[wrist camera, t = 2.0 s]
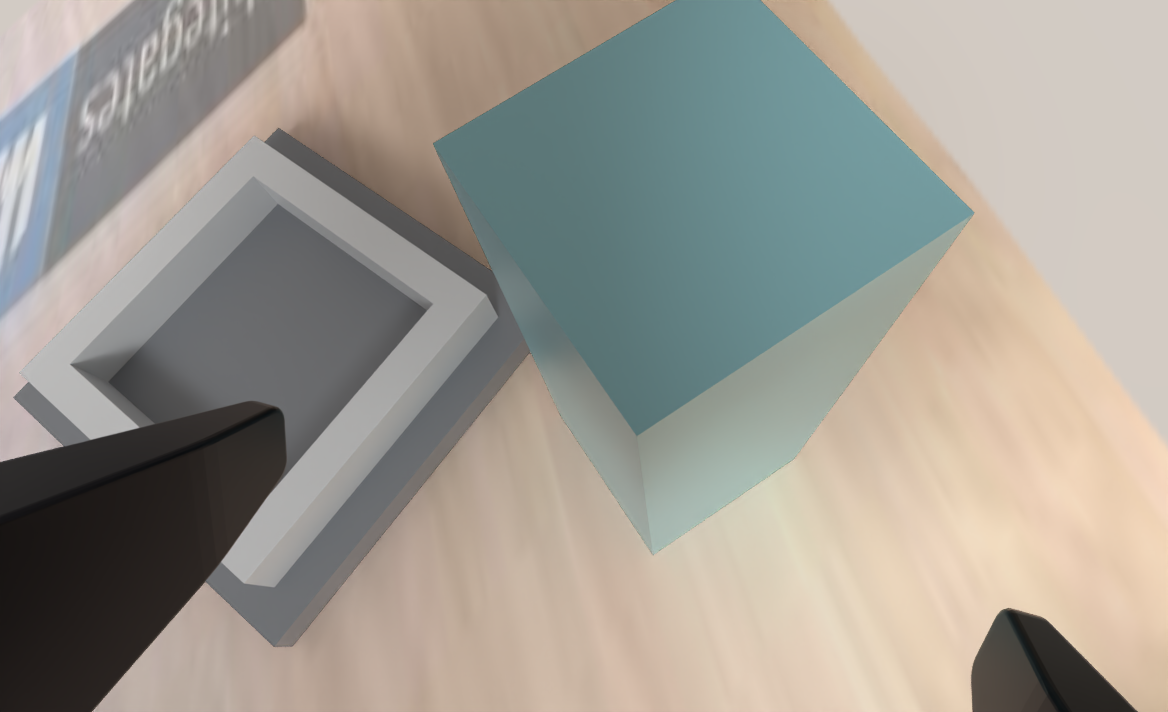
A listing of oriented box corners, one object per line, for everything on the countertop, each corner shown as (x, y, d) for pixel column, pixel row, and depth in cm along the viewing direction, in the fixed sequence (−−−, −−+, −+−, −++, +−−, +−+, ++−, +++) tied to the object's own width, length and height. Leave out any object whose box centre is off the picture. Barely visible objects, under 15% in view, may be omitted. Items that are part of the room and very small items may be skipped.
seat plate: (292, 646, 20) (242, 647, 17) (40, 407, 23) (-32, 381, 20) (553, 322, 22) (539, 285, 20) (292, 146, 25) (255, 96, 23)
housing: (652, 555, 20) (636, 436, 8) (560, 415, 21) (432, 143, 9) (794, 458, 20) (975, 213, 8) (693, 329, 22) (728, -32, 10)
